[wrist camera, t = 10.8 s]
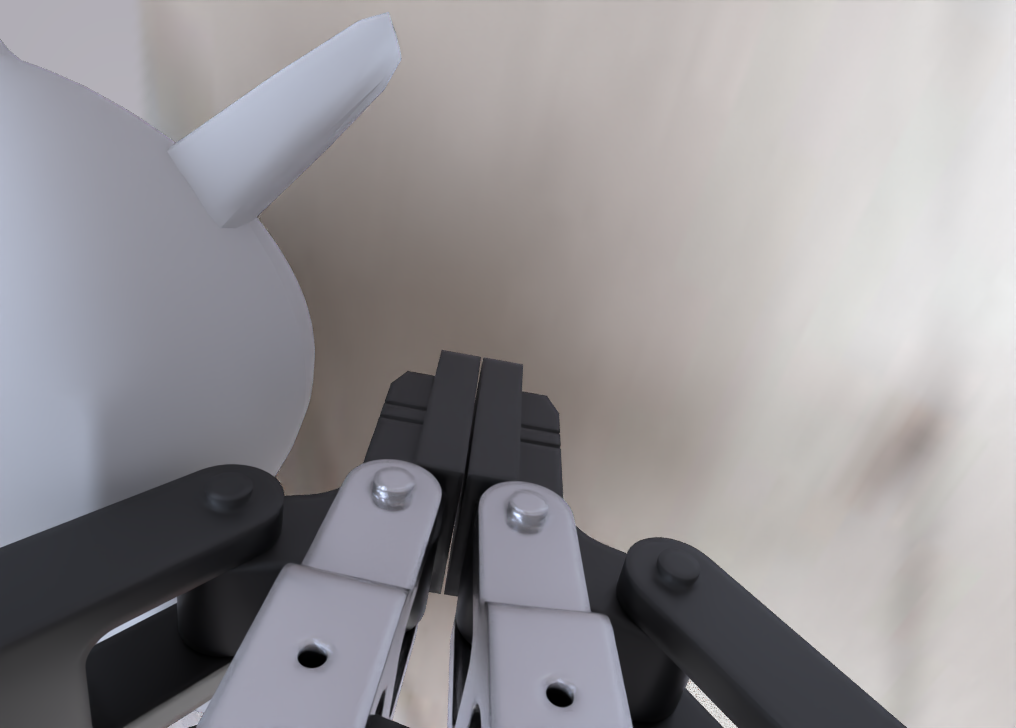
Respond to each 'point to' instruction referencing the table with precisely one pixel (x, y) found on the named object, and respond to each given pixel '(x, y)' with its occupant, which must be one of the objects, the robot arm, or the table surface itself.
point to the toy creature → (155, 282)
